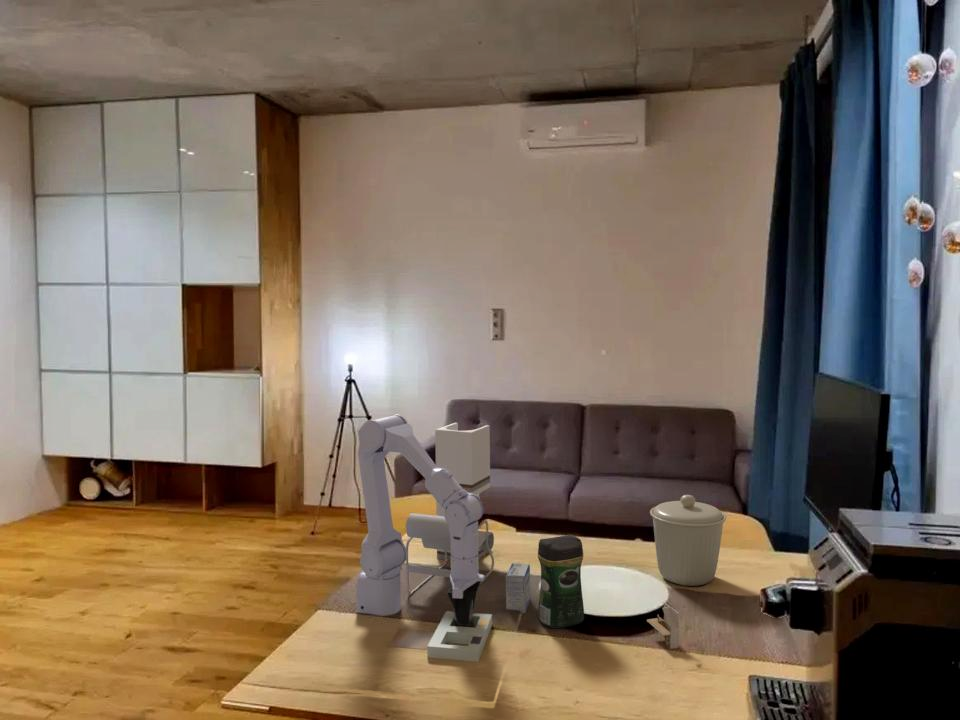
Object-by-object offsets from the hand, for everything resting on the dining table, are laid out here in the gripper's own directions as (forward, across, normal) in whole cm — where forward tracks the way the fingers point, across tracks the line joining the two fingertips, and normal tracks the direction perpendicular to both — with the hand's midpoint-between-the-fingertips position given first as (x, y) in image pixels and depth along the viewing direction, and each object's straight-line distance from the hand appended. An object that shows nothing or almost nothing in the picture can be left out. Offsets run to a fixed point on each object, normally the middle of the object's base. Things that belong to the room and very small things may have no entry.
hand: (465, 618), depth 153 cm
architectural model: (+4, +4, -41) cm, 42 cm away
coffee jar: (+4, +10, -19) cm, 22 cm away
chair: (+4, +27, +9) cm, 29 cm away
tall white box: (+4, +47, +10) cm, 48 cm away
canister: (+4, +39, -48) cm, 62 cm away
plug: (+2, 0, 0) cm, 2 cm away
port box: (+4, -4, 0) cm, 5 cm away
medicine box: (+4, +16, -9) cm, 19 cm away
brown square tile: (+4, -5, +10) cm, 12 cm away
